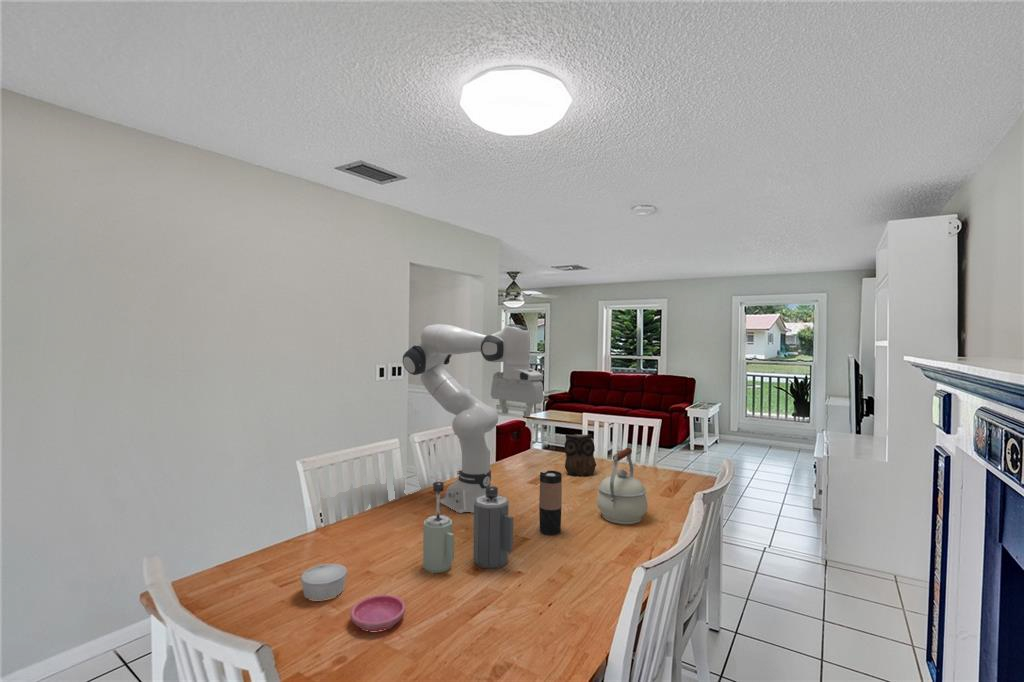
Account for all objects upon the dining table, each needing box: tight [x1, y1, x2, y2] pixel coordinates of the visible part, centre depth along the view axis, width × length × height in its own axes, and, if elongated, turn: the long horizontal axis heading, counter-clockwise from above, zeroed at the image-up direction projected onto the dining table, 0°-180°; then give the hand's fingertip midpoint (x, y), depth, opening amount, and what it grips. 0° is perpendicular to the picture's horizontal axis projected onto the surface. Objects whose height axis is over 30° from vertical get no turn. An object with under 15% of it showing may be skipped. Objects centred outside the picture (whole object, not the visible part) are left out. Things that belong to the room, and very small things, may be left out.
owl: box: [564, 433, 597, 478], centre depth 240 cm, size 13×13×20 cm
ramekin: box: [300, 563, 348, 600], centre depth 128 cm, size 11×11×5 cm
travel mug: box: [538, 470, 563, 536], centre depth 170 cm, size 8×8×20 cm
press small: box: [422, 514, 455, 574], centre depth 142 cm, size 10×8×14 cm
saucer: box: [350, 594, 406, 631], centre depth 116 cm, size 12×12×3 cm
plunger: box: [486, 485, 499, 501], centre depth 147 cm, size 4×4×13 cm
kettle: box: [596, 447, 648, 525], centre depth 185 cm, size 25×18×25 cm
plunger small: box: [432, 481, 445, 518], centre depth 143 cm, size 3×3×10 cm
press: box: [472, 494, 514, 570], centre depth 146 cm, size 13×11×18 cm
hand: (515, 414), depth 164 cm, fingers open, 8 cm apart
